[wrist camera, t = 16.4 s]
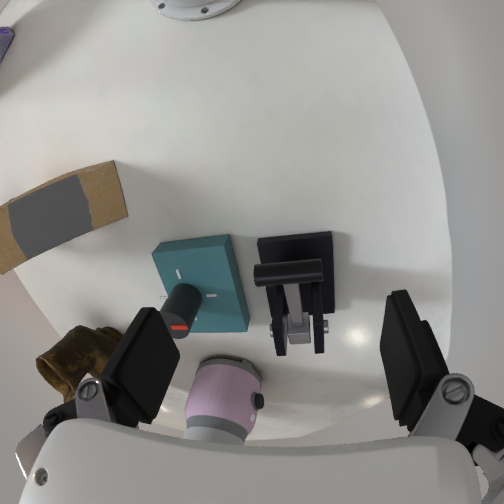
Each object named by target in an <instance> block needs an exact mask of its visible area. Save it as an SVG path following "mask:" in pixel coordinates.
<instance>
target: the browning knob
mask: <svg viewBox="0 0 504 504" xmlns="http://www.w3.org/2000/svg"><path fill="white" fill-rule="evenodd" d="M201 304H202V295H201V293H200V292H199V290H198V289H197V288H195V287H194V286H192V285H190V284H186V283H180V284H177V285H176V286H174V288H173V289H172V291H171V293H170V294H169V296H168V298H167V299H166V301H165V303H164V305H163V306H162V308H161V310H160V311H159V312H160V314H161V316H162V318H163V320H164V322H165V324H166V326H167V328H168V330H169V333H170V335H171V337H172V338H175V339H182V338H185V337H186V336H187V335H188V334H189V332H190V329H191V327H192V325H193V322H194V320H195V318H196V315H197V313H198V311H199V308H200V306H201Z"/></svg>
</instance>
